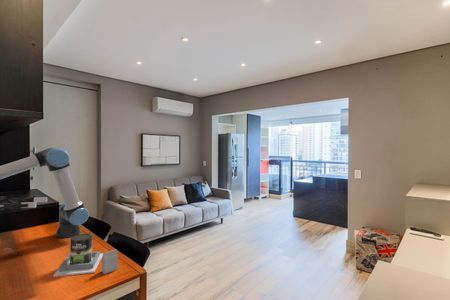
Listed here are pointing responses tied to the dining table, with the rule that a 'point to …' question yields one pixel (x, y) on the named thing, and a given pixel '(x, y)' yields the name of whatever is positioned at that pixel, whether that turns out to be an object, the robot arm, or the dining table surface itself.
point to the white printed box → (109, 261)
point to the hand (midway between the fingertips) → (41, 202)
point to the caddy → (79, 266)
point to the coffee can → (81, 249)
